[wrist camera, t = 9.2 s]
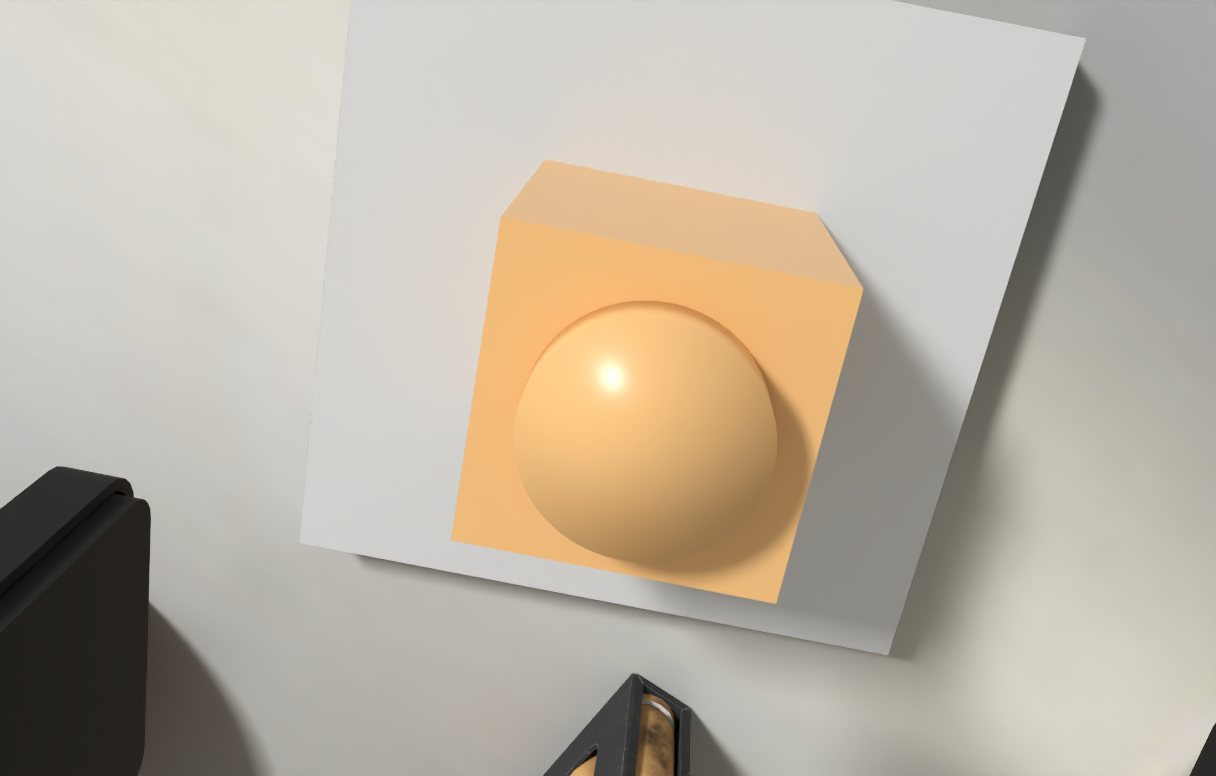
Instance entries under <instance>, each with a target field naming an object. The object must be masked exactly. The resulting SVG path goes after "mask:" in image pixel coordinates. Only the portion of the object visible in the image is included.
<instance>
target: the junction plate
mask: <svg viewBox="0 0 1216 776" xmlns="http://www.w3.org/2000/svg"><path fill="white" fill-rule="evenodd" d="M1085 41H1086V38H1081V37H1076V36H1071V35H1065V34H1060V33H1055V32H1050V31H1045V30H1040V29H1035V28H1030V27H1025V26H1019V25H1014V24H1009V23H1004V22H999V21H994V20H989V19H984V18H979V17H973V16H968V15H963V14H958V13H953V12H948V11H943V10H938V9H933V8H927V7H922V6H917V5H912V4H907V3H902V2H897V1H892V0H351V2H350V13H349V23H348V34H347V45H346V55H345V66H344V76H343V87H342V97H341V108H340V119H339V129H338V140H337V150H336V161H335V171H334V182H333V193H332V203H331V214H330V224H329V235H328V245H327V256H326V267H325V277H324V288H323V298H322V309H321V319H320V330H319V340H318V351H317V362H316V372H315V383H314V393H313V404H312V414H311V425H310V436H309V446H308V457H307V467H306V478H305V488H304V499H303V510H302V520H301V531H300V541H299V543H302V544H307V545H312V546H318V547H323V548H328V549H333V550H339V551H344V552H349V553H354V554H360V555H365V556H370V557H375V558H380V559H386V560H391V561H396V562H401V563H407V564H412V565H417V566H422V567H428V568H433V569H438V570H443V571H448V572H454V573H459V574H464V575H469V576H475V577H480V578H485V579H490V580H496V581H501V582H506V583H511V584H517V585H522V586H527V587H532V588H537V589H543V590H548V591H553V592H558V593H564V594H569V595H574V596H579V597H585V598H590V599H595V600H600V601H605V602H611V603H616V604H621V605H626V606H632V607H637V608H642V609H647V610H653V611H658V612H663V613H668V614H674V615H679V616H684V617H689V618H694V619H700V620H705V621H710V622H715V623H721V624H726V625H731V626H736V627H742V628H747V629H752V630H757V631H762V632H768V633H773V634H778V635H783V636H789V637H794V638H799V639H804V640H810V641H815V642H820V643H825V644H831V645H836V646H841V647H846V648H851V649H857V650H862V651H867V652H872V653H878V654H883V655H888V654H889V651H890V648H891V645H892V642H893V639H894V636H895V633H896V630H897V626H898V623H899V620H900V617H901V614H902V611H903V608H904V605H905V601H906V598H907V595H908V592H909V589H910V586H911V583H912V580H913V577H914V573H915V570H916V567H917V564H918V561H919V558H920V555H921V552H922V549H923V545H924V542H925V539H926V536H927V533H928V530H929V527H930V524H931V520H932V517H933V514H934V511H935V508H936V505H937V502H938V499H939V496H940V492H941V489H942V486H943V483H944V480H945V477H946V474H947V471H948V467H949V464H950V461H951V458H952V455H953V452H954V449H955V446H956V443H957V439H958V436H959V433H960V430H961V427H962V424H963V421H964V418H965V415H966V411H967V408H968V405H969V402H970V399H971V396H972V393H973V390H974V386H975V383H976V380H977V377H978V374H979V371H980V368H981V365H982V362H983V358H984V355H985V352H986V349H987V346H988V343H989V340H990V337H991V333H992V330H993V327H994V324H995V321H996V318H997V315H998V312H999V309H1000V305H1001V302H1002V299H1003V296H1004V293H1005V290H1006V287H1007V284H1008V281H1009V277H1010V274H1011V271H1012V268H1013V265H1014V262H1015V259H1016V256H1017V252H1018V249H1019V246H1020V243H1021V240H1022V237H1023V234H1024V231H1025V228H1026V224H1027V221H1028V218H1029V215H1030V212H1031V209H1032V206H1033V203H1034V199H1035V196H1036V193H1037V190H1038V187H1039V184H1040V181H1041V178H1042V175H1043V171H1044V168H1045V165H1046V162H1047V159H1048V156H1049V153H1050V150H1051V147H1052V143H1053V140H1054V137H1055V134H1056V131H1057V128H1058V125H1059V122H1060V118H1061V115H1062V112H1063V109H1064V106H1065V103H1066V100H1067V97H1068V94H1069V90H1070V87H1071V84H1072V81H1073V78H1074V75H1075V72H1076V69H1077V65H1078V62H1079V59H1080V56H1081V53H1082V50H1083V47H1084V44H1085ZM545 159H547V160H552V161H557V162H562V163H567V164H572V165H577V166H582V167H587V168H592V169H597V170H602V171H607V172H613V173H618V174H623V175H628V176H633V177H638V178H643V179H648V180H653V181H658V182H663V183H668V184H673V185H678V186H683V187H688V188H693V189H698V190H703V191H708V192H713V193H718V194H723V195H728V196H733V197H738V198H743V199H749V200H754V201H759V202H764V203H769V204H774V205H779V206H784V207H789V208H794V209H799V210H804V211H809V212H814V213H817V215H818V216H819V218H820V220H821V221H822V223H823V224H824V226H825V228H826V229H827V231H828V232H829V234H830V236H831V237H832V239H833V240H834V242H835V244H836V245H837V247H838V248H839V250H840V252H841V253H842V255H843V256H844V258H845V260H846V261H847V263H848V264H849V266H850V268H851V269H852V271H853V272H854V274H855V276H856V277H857V279H858V280H859V282H860V284H861V285H862V287H863V288H864V290H863V293H862V297H861V300H860V304H859V308H858V311H857V315H856V318H855V322H854V326H853V329H852V333H851V336H850V340H849V344H848V347H847V351H846V354H845V358H844V361H843V365H842V369H841V372H840V376H839V379H838V383H837V387H836V390H835V394H834V397H833V401H832V405H831V408H830V412H829V415H828V419H827V423H826V426H825V430H824V433H823V437H822V440H821V444H820V448H819V451H818V455H817V458H816V462H815V466H814V469H813V473H812V476H811V480H810V484H809V487H808V491H807V494H806V498H805V502H804V505H803V509H802V512H801V516H800V520H799V523H798V527H797V530H796V534H795V537H794V541H793V545H792V548H791V552H790V555H789V559H788V563H787V566H786V570H785V573H784V577H783V581H782V584H781V588H780V591H779V595H778V599H777V602H776V604H774V603H769V602H764V601H759V600H754V599H749V598H744V597H738V596H733V595H728V594H723V593H718V592H713V591H708V590H703V589H697V588H692V587H687V586H682V585H677V584H672V583H667V582H662V581H656V580H651V579H646V578H641V577H636V576H631V575H626V574H621V573H615V572H610V571H605V570H600V569H595V568H590V567H585V566H580V565H574V564H569V563H564V562H559V561H554V560H549V559H544V558H539V557H534V556H528V555H523V554H518V553H513V552H508V551H503V550H498V549H493V548H487V547H482V546H477V545H472V544H467V543H462V542H457V541H452V540H451V535H452V529H453V522H454V516H455V509H456V503H457V496H458V490H459V483H460V477H461V470H462V464H463V457H464V451H465V444H466V438H467V431H468V425H469V418H470V412H471V405H472V399H473V392H474V386H475V379H476V373H477V366H478V360H479V354H480V347H481V341H482V334H483V328H484V321H485V315H486V308H487V302H488V295H489V289H490V282H491V276H492V269H493V263H494V256H495V250H496V243H497V237H498V230H499V224H500V217H501V216H502V214H503V213H504V212H505V211H506V209H507V208H508V207H509V205H510V204H511V203H512V201H513V200H514V199H515V198H516V196H517V195H518V194H519V192H520V191H521V190H522V189H523V187H524V186H525V185H526V183H527V182H528V181H529V179H530V178H531V177H532V176H533V174H534V173H535V172H536V170H537V169H538V168H539V167H540V165H541V164H542V163H543V161H544V160H545Z"/></svg>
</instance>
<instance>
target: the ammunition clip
mask: <svg viewBox="0 0 1216 776" xmlns="http://www.w3.org/2000/svg"><path fill="white" fill-rule="evenodd" d="M690 717H691V710H690V708H689V707H687V706H686V705H684V704H683V703H681V702H680V701H678V700H676V699H675V698H673V697H672V696H670V695H669V694H667V693H666V692H664V691H663V690H661V689H659V688H658V687H656V686H655V685H653V684H652V683H650V682H649V681H647V680H646V679H644V678H642V677H641V676H639V675H638V674H633V673H632V674H631V675H630V677H629V678H628V679H627V680H626V681H625V682H624V683H623V685H622V686H621V687H620V688H619V689H618V690H617V692H616V693H615V694H614V695H613V696H612V697H611V698H610V700H609V701H608V702H607V703H606V704H605V705H604V706H603V708H602V709H601V710H600V711H599V712H598V713H597V714H596V716H595V717H594V718H593V719H592V720H591V721H590V722H589V724H588V725H587V726H586V727H585V728H584V729H583V730H582V732H581V733H580V734H579V735H578V736H577V737H576V738H575V740H574V741H573V742H572V743H571V744H570V745H569V746H568V748H567V749H566V750H565V751H564V752H563V753H562V754H561V756H560V757H559V758H558V759H557V760H556V761H555V762H554V764H553V765H552V766H551V767H550V768H549V769H548V770H547V772H546V773H545V774H544V775H543V776H689V767H690Z"/></svg>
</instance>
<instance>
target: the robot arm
mask: <svg viewBox="0 0 1216 776" xmlns="http://www.w3.org/2000/svg"><path fill="white" fill-rule="evenodd" d="M150 528H151V515H150V508H149V505H148V503H147V502H146V501H145V500H143V499H138V498H134V494H133V490H132V487H131V484H130V483H129V482H128V481H127V480H126V479H124V478H119V477H114V476H109V475H104V474H99V473H94V472H89V471H84V470H78V469H73V468H68V467H58V466H57V467H55V468H53V469H51V470H49V471H48V472H47V473H45V474H44V475H43V476H42V477H40V478H39V479H38V480H37V481H35V482H34V483H33V484H31V485H30V486H29V487H28V488H26V489H25V490H24V491H23V492H21V493H20V494H19V495H18V496H16V497H15V498H14V499H12V500H11V501H10V502H9V503H7V504H6V505H5V506H4V507H2V508H1V509H0V776H137V775H138V772H139V769H140V766H141V762H142V758H143V754H144V743H145V707H146V671H147V635H148V599H149V563H150ZM1190 776H1216V723H1215V725H1214V726H1213V728H1212V730H1211V732H1210V734H1209V736H1208V738H1207V741H1206V743H1205V745H1204V747H1203V749H1202V751H1201V753H1200V755H1199V757H1198V759H1197V761H1196V764H1195V766H1194V768H1193V770H1192V772H1191V774H1190Z"/></svg>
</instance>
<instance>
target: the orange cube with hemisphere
mask: <svg viewBox="0 0 1216 776" xmlns="http://www.w3.org/2000/svg"><path fill="white" fill-rule="evenodd" d="M863 290H864V288H863V287H862V285H861V284H860V282H859V280H858V279H857V277H856V276H855V274H854V272H853V271H852V269H851V268H850V266H849V264H848V263H847V261H846V260H845V258H844V256H843V255H842V253H841V252H840V250H839V248H838V247H837V245H836V244H835V242H834V240H833V239H832V237H831V236H830V234H829V232H828V231H827V229H826V228H825V226H824V224H823V223H822V221H821V220H820V218H819V216H818V215H817V213H814V212H809V211H804V210H799V209H794V208H789V207H784V206H779V205H774V204H769V203H764V202H759V201H754V200H749V199H743V198H738V197H733V196H728V195H723V194H718V193H713V192H708V191H703V190H698V189H693V188H688V187H683V186H678V185H673V184H668V183H663V182H658V181H653V180H648V179H643V178H638V177H633V176H628V175H623V174H618V173H613V172H607V171H602V170H597V169H592V168H587V167H582V166H577V165H572V164H567V163H562V162H557V161H552V160H547V159H545V160H544V161H543V163H542V164H541V165H540V167H539V168H538V169H537V170H536V172H535V173H534V174H533V176H532V177H531V178H530V179H529V181H528V182H527V183H526V185H525V186H524V187H523V189H522V190H521V191H520V192H519V194H518V195H517V196H516V198H515V199H514V200H513V201H512V203H511V204H510V205H509V207H508V208H507V209H506V211H505V212H504V213H503V214H502V216H501V217H500V224H499V230H498V237H497V243H496V250H495V256H494V263H493V269H492V276H491V282H490V289H489V295H488V302H487V308H486V315H485V321H484V328H483V334H482V341H481V347H480V354H479V360H478V366H477V373H476V379H475V386H474V392H473V399H472V405H471V412H470V418H469V425H468V431H467V438H466V444H465V451H464V457H463V464H462V470H461V477H460V483H459V490H458V496H457V503H456V509H455V516H454V522H453V529H452V535H451V540H452V541H457V542H462V543H467V544H472V545H477V546H482V547H487V548H493V549H498V550H503V551H508V552H513V553H518V554H523V555H528V556H534V557H539V558H544V559H549V560H554V561H559V562H564V563H569V564H574V565H580V566H585V567H590V568H595V569H600V570H605V571H610V572H615V573H621V574H626V575H631V576H636V577H641V578H646V579H651V580H656V581H662V582H667V583H672V584H677V585H682V586H687V587H692V588H697V589H703V590H708V591H713V592H718V593H723V594H728V595H733V596H738V597H744V598H749V599H754V600H759V601H764V602H769V603H774V604H776V602H777V599H778V595H779V591H780V588H781V584H782V581H783V577H784V573H785V570H786V566H787V563H788V559H789V555H790V552H791V548H792V545H793V541H794V537H795V534H796V530H797V527H798V523H799V520H800V516H801V512H802V509H803V505H804V502H805V498H806V494H807V491H808V487H809V484H810V480H811V476H812V473H813V469H814V466H815V462H816V458H817V455H818V451H819V448H820V444H821V440H822V437H823V433H824V430H825V426H826V423H827V419H828V415H829V412H830V408H831V405H832V401H833V397H834V394H835V390H836V387H837V383H838V379H839V376H840V372H841V369H842V365H843V361H844V358H845V354H846V351H847V347H848V344H849V340H850V336H851V333H852V329H853V326H854V322H855V318H856V315H857V311H858V308H859V304H860V300H861V297H862V293H863Z"/></svg>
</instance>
